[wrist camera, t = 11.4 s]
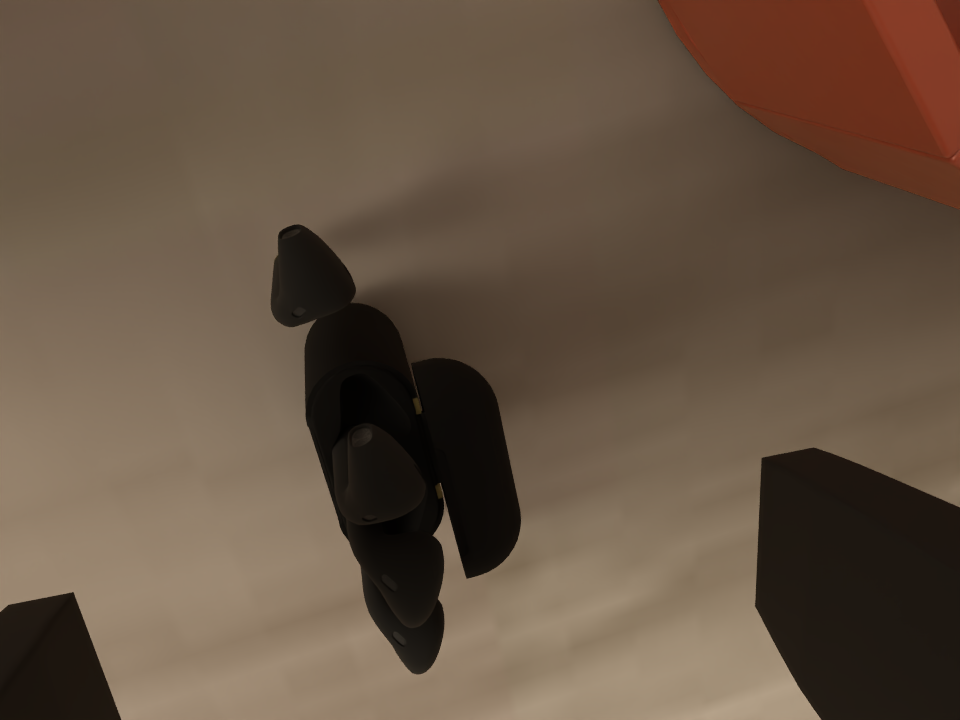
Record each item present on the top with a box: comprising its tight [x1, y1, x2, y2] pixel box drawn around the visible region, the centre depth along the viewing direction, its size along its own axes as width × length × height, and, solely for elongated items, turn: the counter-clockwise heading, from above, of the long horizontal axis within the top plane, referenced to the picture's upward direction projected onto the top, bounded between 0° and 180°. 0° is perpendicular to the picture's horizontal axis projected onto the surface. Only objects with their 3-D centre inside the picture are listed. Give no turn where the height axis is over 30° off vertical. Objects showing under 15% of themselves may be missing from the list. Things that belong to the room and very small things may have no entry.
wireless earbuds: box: [271, 225, 521, 674], centre depth 12 cm, size 7×2×5 cm, turn 11°
